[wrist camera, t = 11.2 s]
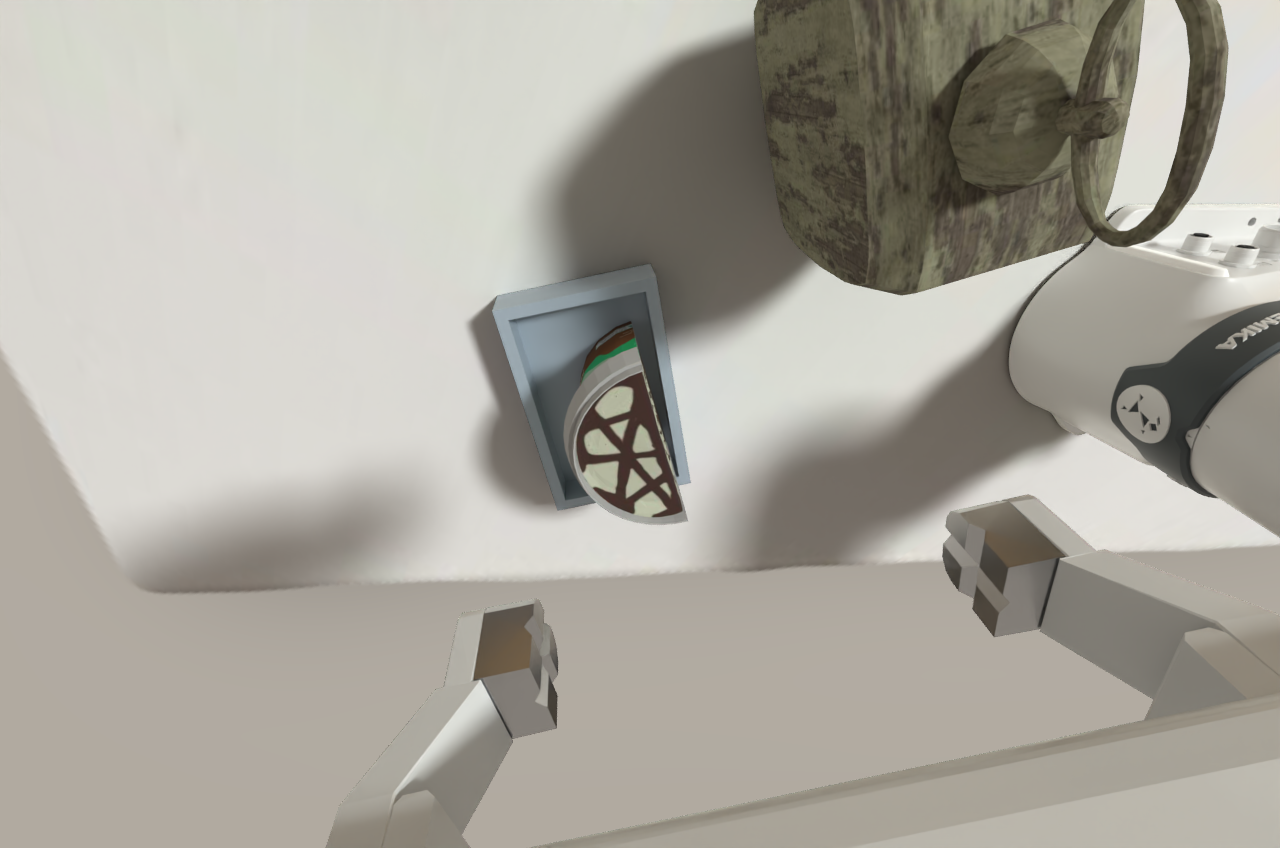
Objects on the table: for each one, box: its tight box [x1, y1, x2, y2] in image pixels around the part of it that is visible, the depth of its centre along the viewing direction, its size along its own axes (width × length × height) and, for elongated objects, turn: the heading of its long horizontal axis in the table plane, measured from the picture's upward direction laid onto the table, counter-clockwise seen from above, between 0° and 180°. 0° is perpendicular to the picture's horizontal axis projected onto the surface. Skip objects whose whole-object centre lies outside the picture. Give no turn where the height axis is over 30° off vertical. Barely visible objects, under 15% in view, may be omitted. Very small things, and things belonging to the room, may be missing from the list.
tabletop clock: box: [754, 0, 1228, 295], centre depth 25 cm, size 14×9×25 cm, turn 16°
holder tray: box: [492, 264, 691, 511], centre depth 42 cm, size 11×17×3 cm, turn 10°
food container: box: [563, 321, 688, 525], centre depth 39 cm, size 12×6×10 cm, turn 15°
